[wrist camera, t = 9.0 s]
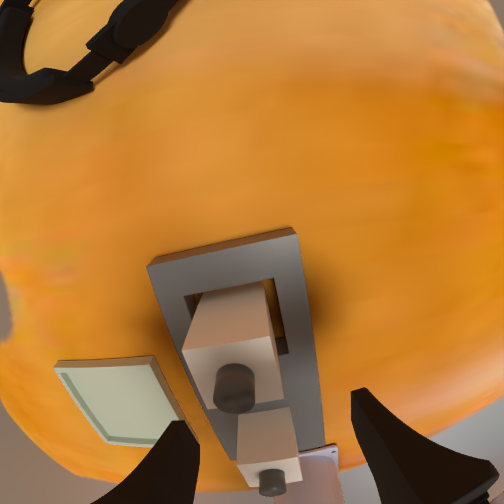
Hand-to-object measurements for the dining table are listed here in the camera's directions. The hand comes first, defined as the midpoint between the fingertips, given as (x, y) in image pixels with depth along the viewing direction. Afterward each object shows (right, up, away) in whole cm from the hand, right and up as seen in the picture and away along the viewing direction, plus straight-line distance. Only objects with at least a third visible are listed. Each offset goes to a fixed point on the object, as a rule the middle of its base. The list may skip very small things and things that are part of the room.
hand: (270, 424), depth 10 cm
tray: (-13, -7, +11) cm, 18 cm away
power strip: (-1, -2, +10) cm, 10 cm away
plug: (-2, +3, +9) cm, 10 cm away
